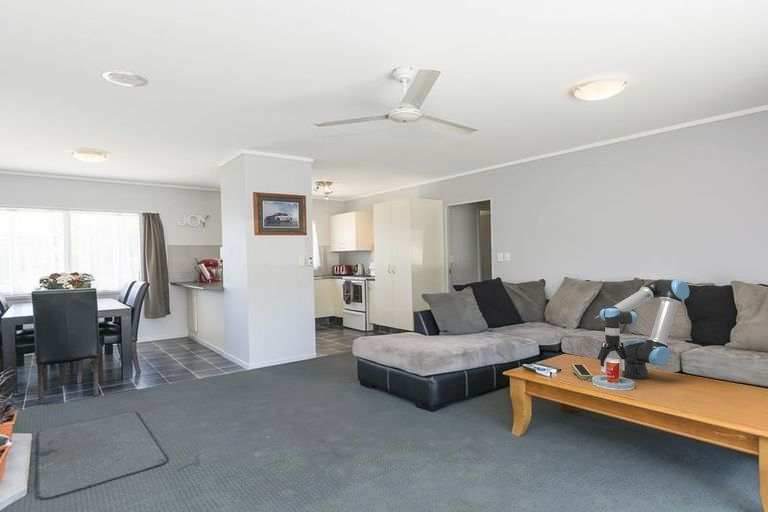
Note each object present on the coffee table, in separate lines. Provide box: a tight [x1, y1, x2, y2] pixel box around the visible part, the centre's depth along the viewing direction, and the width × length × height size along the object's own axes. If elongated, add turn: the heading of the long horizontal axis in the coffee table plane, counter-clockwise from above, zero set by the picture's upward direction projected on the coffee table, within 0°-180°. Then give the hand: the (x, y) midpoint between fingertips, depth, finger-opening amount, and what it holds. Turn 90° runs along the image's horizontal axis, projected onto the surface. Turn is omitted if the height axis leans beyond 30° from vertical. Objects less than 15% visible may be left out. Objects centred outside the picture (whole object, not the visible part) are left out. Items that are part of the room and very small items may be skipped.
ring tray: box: [591, 374, 636, 391], centre depth 257 cm, size 22×22×3 cm
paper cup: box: [605, 357, 620, 383], centre depth 257 cm, size 8×8×14 cm
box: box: [570, 363, 595, 383], centre depth 275 cm, size 8×22×5 cm, turn 175°
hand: (612, 371), depth 257 cm, fingers open, 13 cm apart
